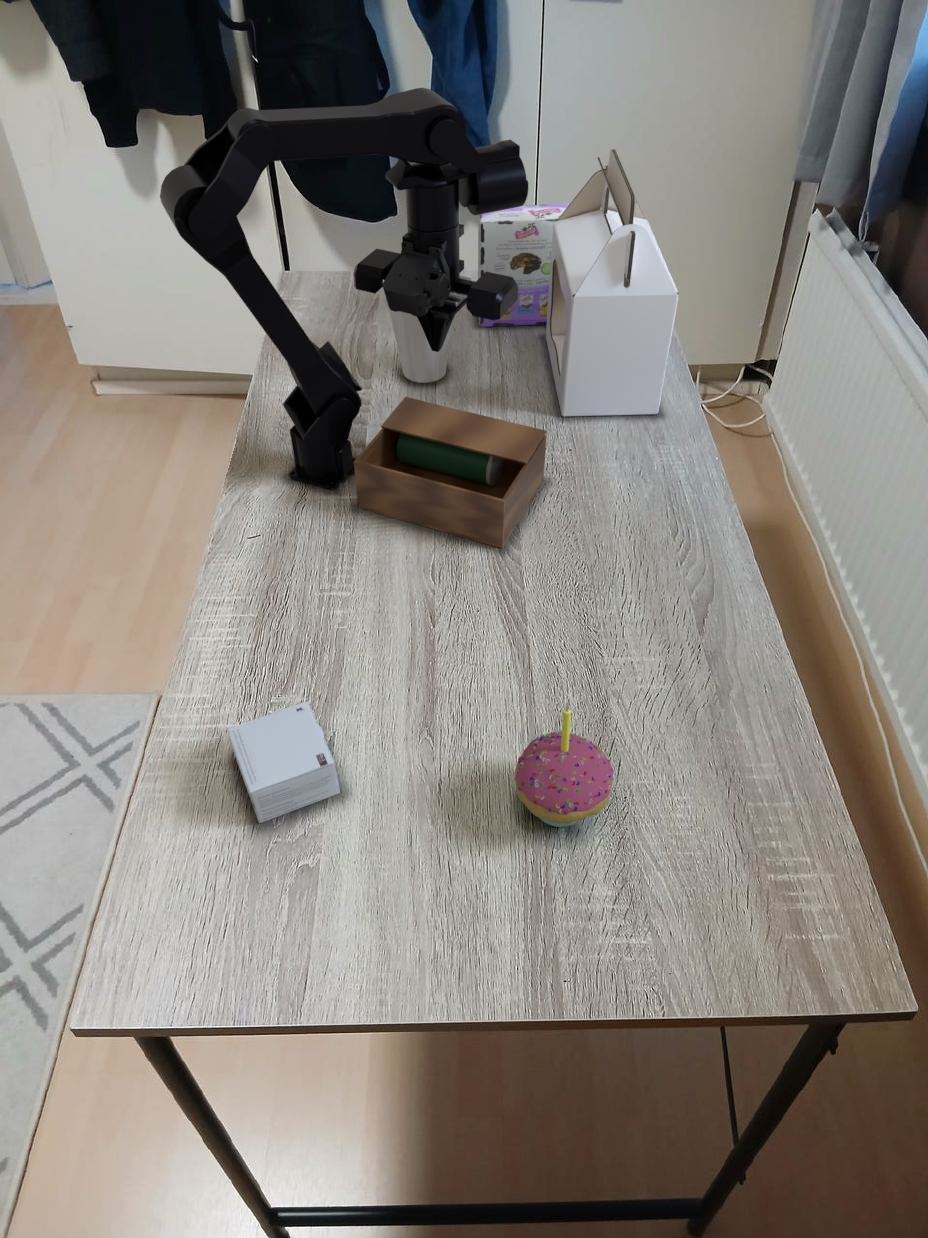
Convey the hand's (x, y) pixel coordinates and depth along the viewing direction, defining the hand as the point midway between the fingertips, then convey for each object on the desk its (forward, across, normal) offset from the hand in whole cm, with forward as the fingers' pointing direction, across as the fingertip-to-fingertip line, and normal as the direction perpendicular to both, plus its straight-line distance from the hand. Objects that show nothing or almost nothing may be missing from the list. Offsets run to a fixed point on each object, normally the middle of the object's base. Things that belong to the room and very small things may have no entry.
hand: (436, 349), depth 113 cm
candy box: (+13, -3, +35) cm, 37 cm away
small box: (+13, +11, -54) cm, 56 cm away
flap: (+6, +7, -6) cm, 11 cm away
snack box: (+13, +7, -10) cm, 18 cm away
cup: (+13, -9, +14) cm, 21 cm away
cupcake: (+13, +35, -46) cm, 59 cm away
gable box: (+13, +14, +24) cm, 31 cm away
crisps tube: (+10, -2, -6) cm, 12 cm away
